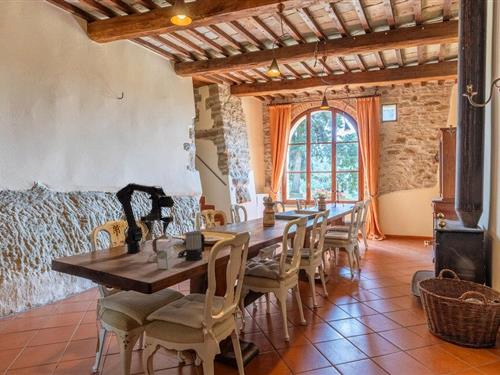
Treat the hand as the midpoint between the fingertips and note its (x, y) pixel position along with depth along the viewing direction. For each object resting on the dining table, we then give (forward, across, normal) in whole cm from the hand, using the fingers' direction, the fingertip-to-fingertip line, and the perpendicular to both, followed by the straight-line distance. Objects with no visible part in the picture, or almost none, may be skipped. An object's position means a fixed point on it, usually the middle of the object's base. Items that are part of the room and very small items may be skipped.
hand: (157, 233), depth 207 cm
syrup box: (+12, +20, -28) cm, 36 cm away
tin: (+9, +6, -6) cm, 12 cm away
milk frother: (+12, +23, -6) cm, 27 cm away
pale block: (+13, +6, -6) cm, 16 cm away
